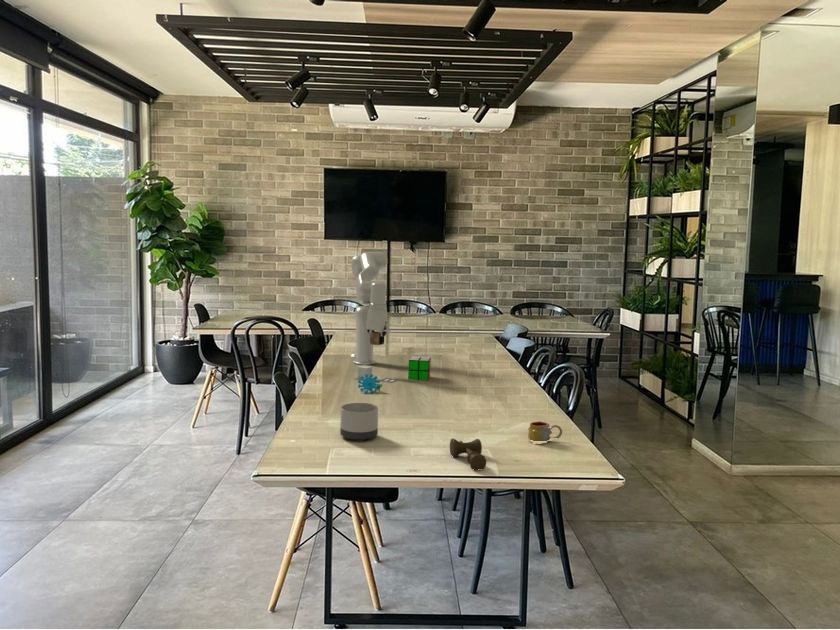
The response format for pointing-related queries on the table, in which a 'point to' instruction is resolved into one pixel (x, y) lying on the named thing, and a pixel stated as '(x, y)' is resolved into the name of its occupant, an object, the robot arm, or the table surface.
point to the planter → (359, 421)
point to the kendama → (469, 452)
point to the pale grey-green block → (364, 371)
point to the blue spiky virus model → (369, 384)
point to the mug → (541, 431)
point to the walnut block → (375, 338)
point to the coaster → (389, 380)
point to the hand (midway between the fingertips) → (376, 343)
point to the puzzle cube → (419, 368)
